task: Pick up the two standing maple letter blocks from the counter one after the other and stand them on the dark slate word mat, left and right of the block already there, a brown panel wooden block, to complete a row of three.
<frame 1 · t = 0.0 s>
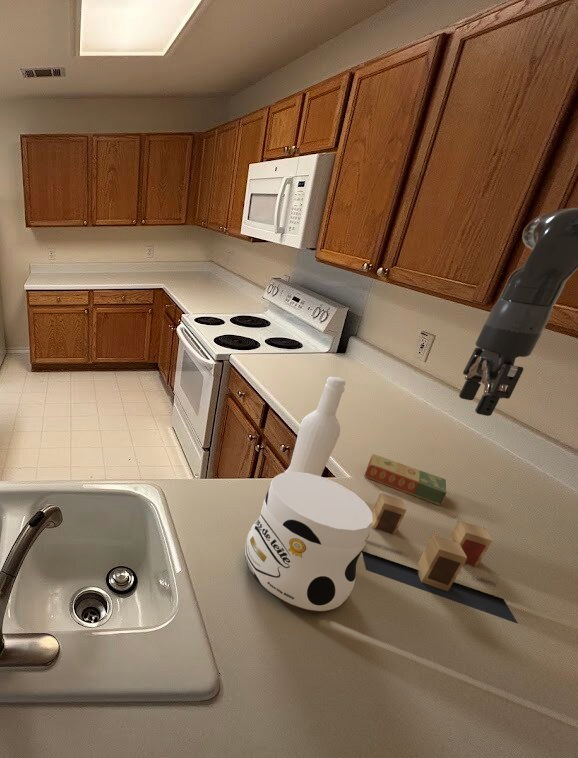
hand: (473, 406, 81), 30 cm above the countertop, tool pointing down, fingers open, 8 cm apart
bottle: (297, 491, 101), on the countertop
carton: (401, 485, 107), on the countertop
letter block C: (457, 561, 83), on the countertop
letter block T: (379, 530, 89), on the countertop
milk container: (289, 578, 75), on the countertop
brown panel wooden block: (431, 579, 77), point 1 cm above the countertop, touching word mat
word mat: (429, 582, 77), on the countertop
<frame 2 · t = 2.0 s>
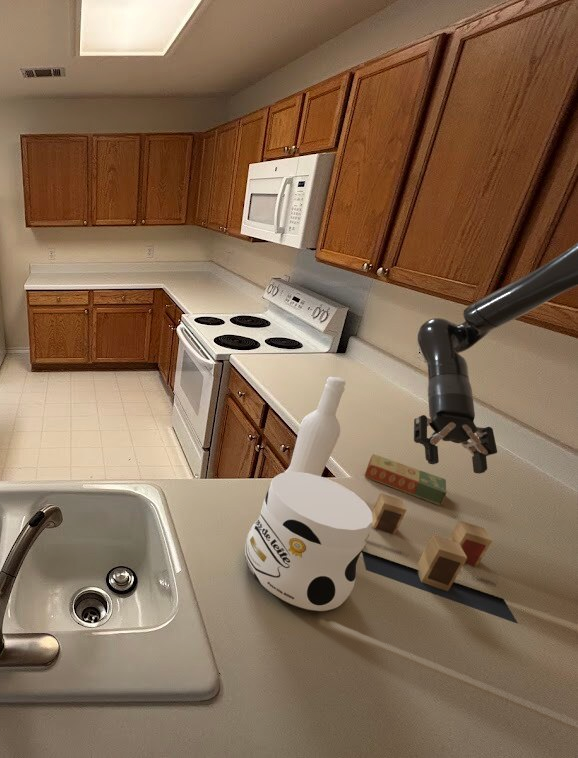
hand: (456, 468, 87), 15 cm above the countertop, tool tilted 45°, fingers open, 8 cm apart
nothing on the countertop moved.
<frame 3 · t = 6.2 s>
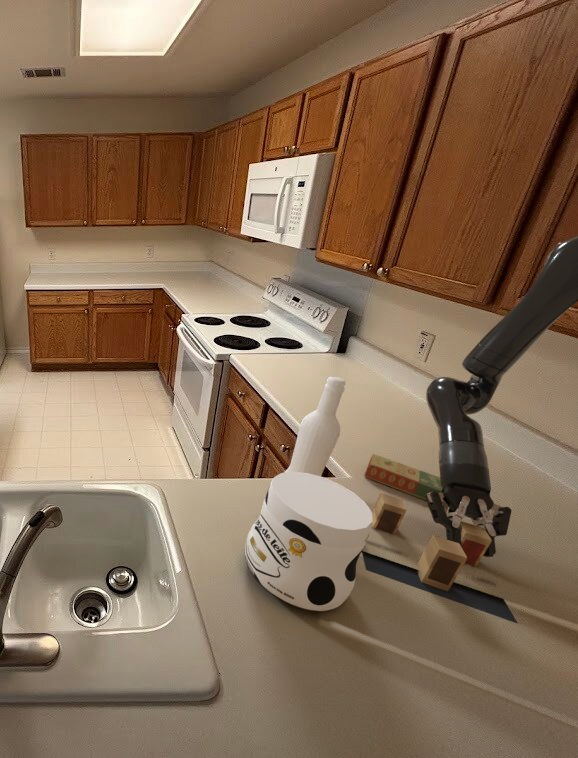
hand: (471, 552, 79), 4 cm above the countertop, tool tilted 45°, fingers closed on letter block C, 4 cm apart
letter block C: (457, 561, 83), on the countertop, touching gripper
everything else where it was.
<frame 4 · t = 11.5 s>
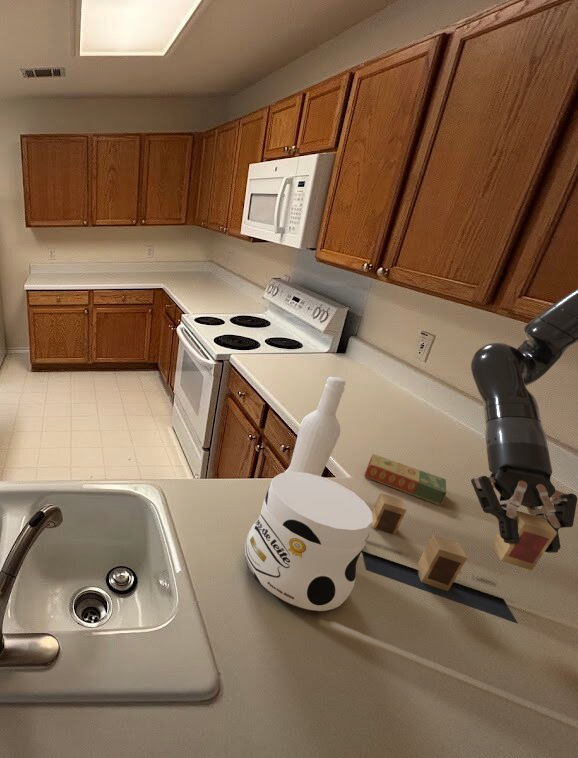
hand: (530, 547, 67), 14 cm above the countertop, tool tilted 45°, fingers closed on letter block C, 4 cm apart
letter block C: (510, 557, 70), point 10 cm above the countertop, touching gripper
everything else where it was.
when the fingers open (6 cm above the countertop, at t = 16.7 s): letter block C drops 1 cm, resting on word mat.
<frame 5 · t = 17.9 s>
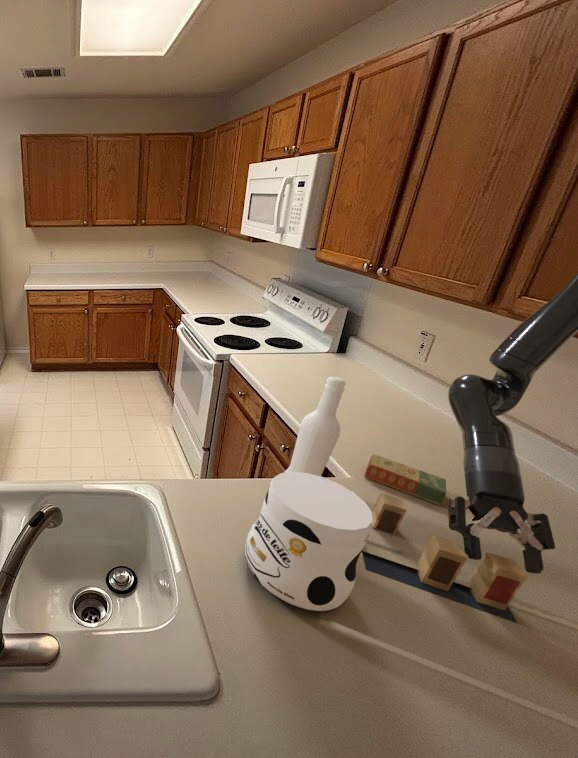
hand: (504, 566, 71), 8 cm above the countertop, tool tilted 45°, fingers open, 8 cm apart
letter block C: (484, 597, 74), point 1 cm above the countertop, touching word mat
everything else where it was.
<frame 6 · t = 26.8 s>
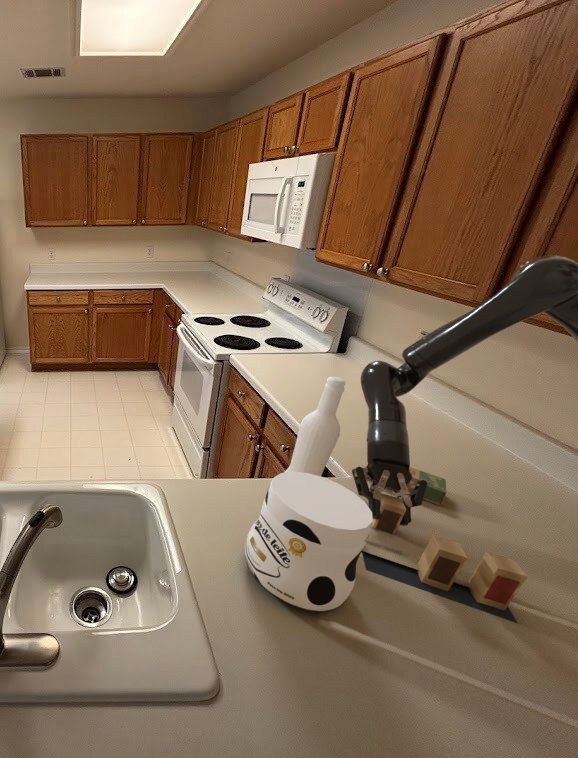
hand: (389, 521, 86), 4 cm above the countertop, tool tilted 45°, fingers closed on letter block T, 4 cm apart
letter block T: (379, 530, 89), on the countertop, touching gripper
everything else where it was.
when the fingers open (5 cm above the countertop, at t = 35.2 s): letter block T stays where it is, resting on word mat.
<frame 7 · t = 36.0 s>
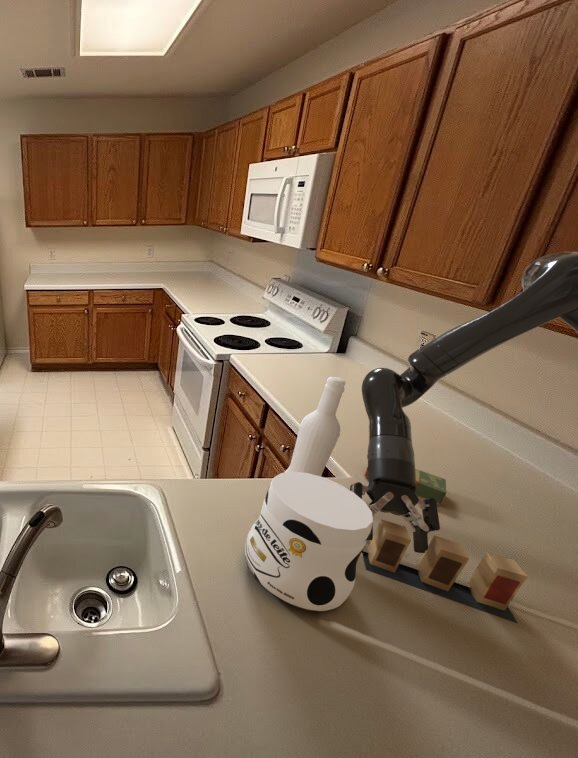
hand: (393, 546, 77), 6 cm above the countertop, tool tilted 45°, fingers open, 8 cm apart
letter block T: (380, 561, 80), point 1 cm above the countertop, touching word mat
brown panel wooden block: (431, 578, 77), point 1 cm above the countertop, touching gripper, word mat
everything else where it was.
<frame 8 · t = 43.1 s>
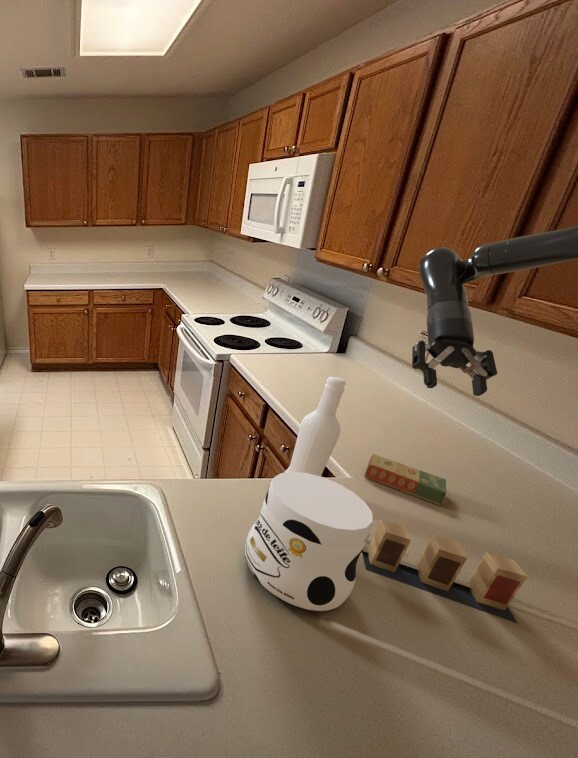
hand: (455, 390, 86), 31 cm above the countertop, tool tilted 45°, fingers open, 8 cm apart
brown panel wooden block: (431, 579, 77), point 1 cm above the countertop, touching word mat
everything else where it was.
at the end: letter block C 0.1 cm from the target spot, point 0.8 cm above the countertop; letter block T 0.4 cm from the target spot, point 0.8 cm above the countertop; letter block T tilted 0° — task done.
